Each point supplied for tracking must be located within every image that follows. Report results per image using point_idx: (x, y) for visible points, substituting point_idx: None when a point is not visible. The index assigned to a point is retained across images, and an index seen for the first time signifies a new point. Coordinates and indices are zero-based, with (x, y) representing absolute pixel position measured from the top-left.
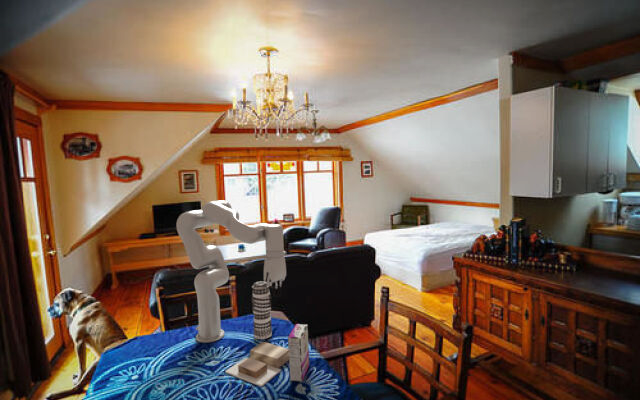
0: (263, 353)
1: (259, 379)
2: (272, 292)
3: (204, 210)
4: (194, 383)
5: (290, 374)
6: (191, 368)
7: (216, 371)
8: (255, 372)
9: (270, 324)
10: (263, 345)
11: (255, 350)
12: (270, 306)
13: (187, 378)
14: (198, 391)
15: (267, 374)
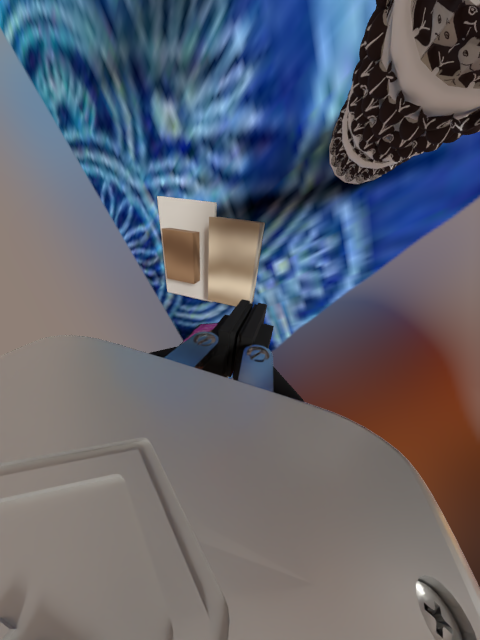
0: (211, 261)
1: (175, 281)
2: (235, 309)
3: None
4: (106, 158)
5: (195, 329)
6: (121, 75)
7: (151, 169)
8: (167, 276)
9: (379, 172)
10: (241, 238)
11: (213, 233)
12: (423, 151)
13: (101, 118)
14: (103, 192)
15: (191, 287)
